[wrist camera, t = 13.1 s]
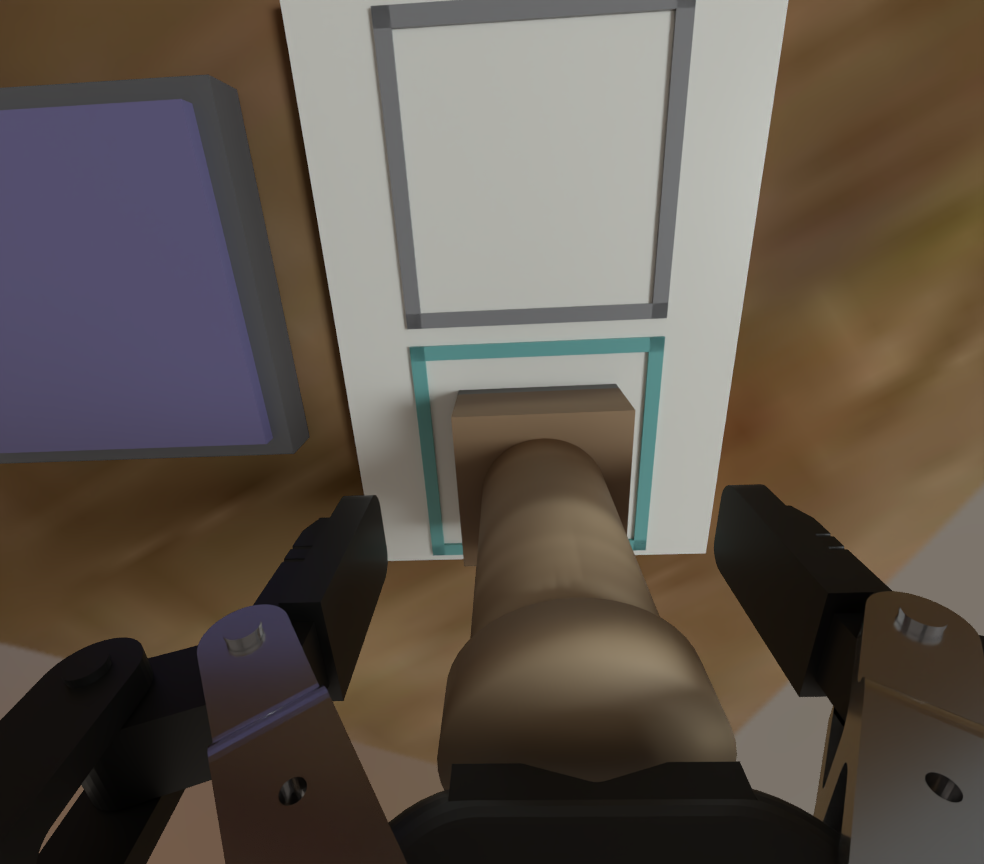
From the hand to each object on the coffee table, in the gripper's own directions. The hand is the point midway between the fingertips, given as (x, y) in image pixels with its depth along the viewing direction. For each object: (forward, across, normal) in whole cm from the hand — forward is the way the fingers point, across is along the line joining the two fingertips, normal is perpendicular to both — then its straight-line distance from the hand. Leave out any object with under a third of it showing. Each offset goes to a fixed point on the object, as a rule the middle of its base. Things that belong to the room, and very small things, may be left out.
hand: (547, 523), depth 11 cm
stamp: (+4, 0, 0) cm, 4 cm away
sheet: (+4, 0, -4) cm, 6 cm away
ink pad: (+4, +12, -5) cm, 13 cm away
